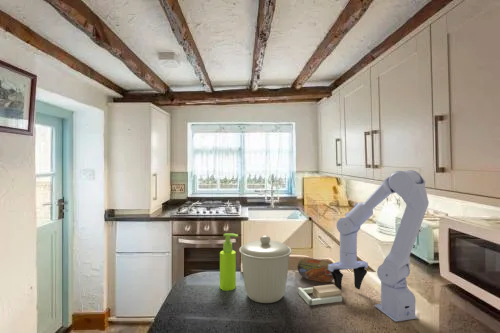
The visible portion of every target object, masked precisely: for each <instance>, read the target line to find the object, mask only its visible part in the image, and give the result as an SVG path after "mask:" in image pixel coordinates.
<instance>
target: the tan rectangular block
mask: <svg viewBox="0 0 500 333" xmlns="http://www.w3.org/2000/svg"><path fill="white" fill-rule="evenodd" d="M312 287H313V293H312V296H313V297H315V298H314V299H316V298H324V297H332V296H340V295H341V296H342V289H341V290H340V289H339V288H338V287H336V286H335V283H333V284H324V285H314V286H312Z"/></svg>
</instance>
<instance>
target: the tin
mask: <svg viewBox="0 0 500 333" xmlns="http://www.w3.org/2000/svg"><path fill="white" fill-rule="evenodd" d="M298 261H299V262H298V263H297V271H298V273H299V275H300V276H301V277H302V278H303V279H306V280H309V281H315V282H320V283H331V282H332V281H334V279H333V276H332V274H331V272H330V271H329V270H328V264H333V263H334V262H332V261H331V260H328V259H324V258H319V257H318V258H316V257H310V256H306V257H303V258H302V259H300V260H298Z"/></svg>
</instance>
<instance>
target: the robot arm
mask: <svg viewBox="0 0 500 333" xmlns="http://www.w3.org/2000/svg"><path fill="white" fill-rule="evenodd" d="M392 194H396V195H398V196H400V197H401V198H402V200H403V202H404V203H405V205H406V206H405V208H404V212H403V215H402V217H401V220H400V223H399V227H398V229H397V231H396V234H395V237H394V240H393V242H392V246H391V249H390V251H389V253H388V254H387V255H386V256H385V257H384V261H383V262H382V264H380V265H378V267H377V270H376V273H377V274H376V276H377V277H378V279H379V280H380V303H377V304H374V307H375V308H377V309H378V310H379V311H380V312H382V313H383V314H384V315H386V316H387V317H388V318H389V319H391V320H392V321H394V322H403V321H407V320H414V319H415V320H417V319H418V318H419V316H418V315H416V296H415V294H414V293H413V291H411V290H410V288H408V283H407V278H408V277H409V276H410V273H411V268H410V263H411V260H412V259H411V258H410V256H411V253H412V251H413V247H414V244H415V242H416V239H417V237H418V234H419V232H420V228H421V226H422V223H423V220H424V217H425V215H426V212H427V209H428V207H429V203H430V202H429V197H428V194H427V189H426V179H424V177H423V176H422V175H421V174H420V173H419V172H418V171H416V170H413V169H412V170H411V169H410V170H396V171H393V172H392V173H391V174H390V175H389V176H387V177H386V178H384V180H383V181H382V183H381V184H379V186H378V187H377V188H376V189H375V191H373V192H372V194H371V195H370V196H369V197H368V198H367V199H366V200H365V201H364V202H363V201H360V202H356V203H354V204H353V208H352V209H351V210H349V212H346V213H345V217H339V218H338V220H337V222H336V230H337V231H338V233H339V261H336V262H332V263H333V264H328V270H329V271H330V272H331V274H332V276H333V281H334V285H335V286H336V287H338V288H339V289H340V290H341V291H342V281H343V276H344V274H343V273H342V270H343V271H344V270H352V271H353V276H354V277H353V278H354V279H353V281H354V288H355V289H357V291H358V290H361V286H362V282H363V281H364V278H365V276H366V275H367V273H368V271H367V269H369V268H368V267H369V266H368V265H369V264H368V262H367V261H365V260H358V259H357V258H358V252H357V251H358V250H357V249H358V246H357V245H358V239H357V238H358V233H359V231H360V229H361V226H362V225H363V224H364V223H366V221H367V220H369V219H370V218H371V217H372V216H373V215H374V209H375V208H376V207H377V206H378V205H379V204H381V203H382V202H383V201H384V200H386V199H387V198H388V197H389V196H390V195H392Z"/></svg>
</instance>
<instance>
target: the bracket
mask: <svg viewBox="0 0 500 333" xmlns="http://www.w3.org/2000/svg"><path fill="white" fill-rule="evenodd" d="M297 294H298V295H299V296H300V297H301V298H302V299H303V301H305V302H306V304H307V305H308V306H315V305H321V304H322V305H323V304H331V303H338V302H340V303H341V302H343V296H342V294H341V295H340V296H332V297H324V298H311V296H309V294H313V286H312V287H305V288H302V287H301V286H300V287H297Z"/></svg>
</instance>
